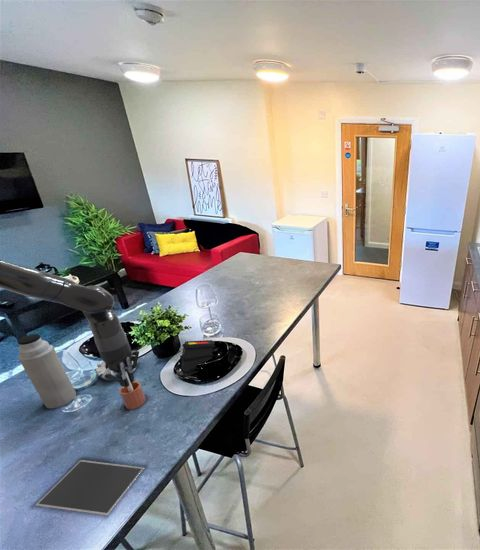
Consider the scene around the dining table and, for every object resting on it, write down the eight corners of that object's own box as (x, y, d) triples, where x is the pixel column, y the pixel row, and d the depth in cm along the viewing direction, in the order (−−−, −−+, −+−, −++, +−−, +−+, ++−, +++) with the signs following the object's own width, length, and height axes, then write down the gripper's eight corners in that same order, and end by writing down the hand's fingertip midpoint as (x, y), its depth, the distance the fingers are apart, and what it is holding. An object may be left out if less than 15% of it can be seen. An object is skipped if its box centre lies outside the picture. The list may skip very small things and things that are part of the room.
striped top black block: (173, 375, 116) (183, 341, 115) (206, 371, 126) (216, 339, 126) (176, 380, 114) (187, 345, 113) (210, 375, 124) (220, 343, 123)
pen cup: (137, 411, 102) (130, 394, 99) (122, 409, 102) (115, 393, 99) (150, 398, 107) (144, 382, 104) (135, 397, 108) (129, 380, 104)
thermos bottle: (47, 399, 105) (12, 336, 94) (77, 389, 110) (47, 327, 98) (45, 414, 100) (7, 348, 88) (76, 402, 104) (44, 339, 93)
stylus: (135, 404, 104) (124, 374, 98) (132, 404, 104) (120, 374, 98) (139, 401, 105) (127, 371, 99) (135, 400, 105) (124, 371, 99)
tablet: (108, 517, 73) (106, 515, 73) (36, 507, 75) (34, 505, 74) (145, 469, 84) (144, 467, 84) (81, 461, 86) (80, 459, 85)
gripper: (120, 330, 100) (134, 369, 107) (81, 356, 88) (100, 398, 95) (140, 332, 100) (153, 371, 107) (104, 358, 87) (121, 400, 94)
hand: (128, 383), depth 101 cm, fingers closed on stylus, 1 cm apart
